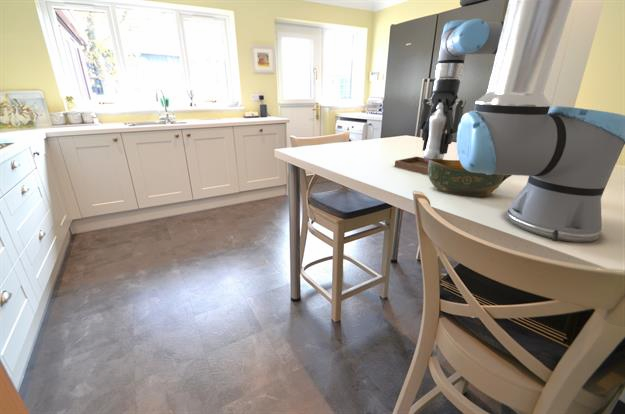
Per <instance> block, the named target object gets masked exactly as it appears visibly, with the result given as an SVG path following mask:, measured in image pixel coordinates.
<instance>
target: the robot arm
mask: <svg viewBox="0 0 625 414" xmlns="http://www.w3.org/2000/svg"><path fill="white" fill-rule="evenodd" d="M573 1H574V0H508V3H507V8H506V12H505V16H504V21H485V20H483V19H481V18H472V19H468V20H466V19H456V20H451V21H448V22H446V23H445V25H444V26H443V31H442V34H441V41H440V46H439V47H440V48H439V54H438V59H437V65H436V70H435V76H434V77H435V80H434V83H433V89H432V93H433V94H432V96H431V97H430V98H423V100H422V103H423V106H422V111H421V114H420V115H421V117H420V120H419V125H418V129H420V130H422V131H423V132H422V133H423V134H422V141H423V145H422V152H425V149H426V146H427V142H428V136H429V119H430V117H431V115H432V114H433V113H434V112H435V111H436V109H437V108H436V107H437V104H438V102H439V103H443V107H444V113H445V115H446V128H447V133H446V134H444V138H443V144H442V149H441V154H444V155H446V154H448V150H449V146H450V145H451V144H452V143H453V137H454V135H455V134H456V151H457V156H458V160H460V163H461V165H462V166H463V167H464V168H465V169H466V170H467V171H469V172H473V173H484V174H486V175H492V174H500V175H511V176H525V177H528V178H527V181H526V184H525V185H524V187H523V188H522V190H521V191H520V192H519V193H518V194H517V196H516V198H515V199H514V200H513V201H512V202H511V204H510V205H509V206H508V209H507V212H506V215H505V217H506V219H507V220H508V221H509V222H510V223H511V224H512V225H514V226H516V227H517V228H520V229H522V230H524V231H527V232H529V233H532V234H535V235H538V236H541V237H544V238H549V239H552V241H553V242H558V241H564V242H571V243H589V242H590V243H591V242H594V241H596V240H598V239H599V237H600V234H601V233H602V230H603V229H602V228H603V225H602V223H603V221H602V220H603V219H602V197H603V194H604V192H605V190H606V187H607V185H608V182H609V180H610V178H611V176H612V173H613V171H614V168H615V167H616V165H617V162H618V160H619V158H620V156H621V153H622V151H623V149H624V147H625V114H621V113H615V112H610V111H604V110H596V109H586V108H580V107H571V106H561V105H554V106H552V107H551V105H552V103H551V102H550V101H549V100H548V98H547V97H546V96H545V91H546V86H547V83H548V80H549V77H550V74H551V70H552V67H553V65H554V61H555V57H556V54H557V52H558V49H559V45H560V42H561V39H562V35H563V32H564V29H565V26H566V23H567V19H568V18H569V17H568V16H569V13H570V10H571V6H572V4H573ZM466 55H495V57H494V61H493V66H492V70H491V74H490V79H489V83H488V86H487V91H486V92H485V93H484V94H483V95H482V96H481V97H479V98H478V99H477V100H475V104H474V107H473V110H470V111H468V112H465V113H464V109H465V105H466V103H467V100H465V99H460V98H459V95H458V93H459V89H460V84H461V80H460V78H462V76H463V75H462V74H463V70H464V63H465V60H466ZM431 105H432V106H431ZM454 105H455V106H456V107H455V110H454Z"/></svg>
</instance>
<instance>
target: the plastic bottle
mask: <svg viewBox="0 0 625 414" xmlns="http://www.w3.org/2000/svg"><path fill="white" fill-rule="evenodd" d="M436 108H437V109H436V111H435V112H434V113H433V114H432V115H431V117H430V119H429V136H428V142H427V146H426V149H425V151H423V158H424V160H425V161H426V162H429V160H430V159H441V160H444V158H445V154H441V149H442V144H443V138H444V134H446V133H447V128H446V115H445V113H444V107H443V103H439V102H438V104H437V107H436Z"/></svg>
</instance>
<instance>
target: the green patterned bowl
mask: <svg viewBox="0 0 625 414" xmlns="http://www.w3.org/2000/svg"><path fill="white" fill-rule="evenodd" d="M427 176H428V179H429V181H430V183H431V184H432V186H433V189H434V190H436V191H438V192H441V193H445V194H449V195H454V196H461V197H462V196H463V197H471V198H486V197H489V196H490V195H492V193H493V192H495V190H497V189H498V188H499V186H500V185H501V184H503V183H504V181H506V180H507V179H508V178H510V177H511V176H512V175H500V174H492V175H486V174H484V173H473V172H469V171H467V170H466V169H465V168H464V167H463V166H462V165H461V163H460V160H459V159H458V160H457V159H455V160H454V159H443V160H441V159H430V160H429V164H428V175H427Z"/></svg>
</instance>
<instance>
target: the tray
mask: <svg viewBox="0 0 625 414" xmlns="http://www.w3.org/2000/svg"><path fill="white" fill-rule="evenodd" d="M428 164H429V162H426V161H425V160H424V157H423V156H422V157H421V156H411V157H407V158H402V159H397V160H394V168H397V169H402V170H405V171H410V172H414V173H418V174H420V175H426V176H428Z"/></svg>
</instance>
